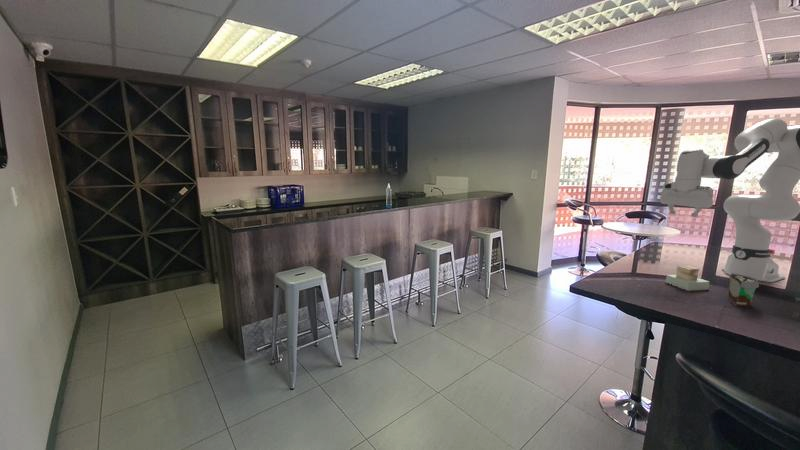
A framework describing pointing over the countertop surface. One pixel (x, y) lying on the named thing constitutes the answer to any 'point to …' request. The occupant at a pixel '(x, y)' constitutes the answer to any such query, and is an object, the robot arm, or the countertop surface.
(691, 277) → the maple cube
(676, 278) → the sage block
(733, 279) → the food container
